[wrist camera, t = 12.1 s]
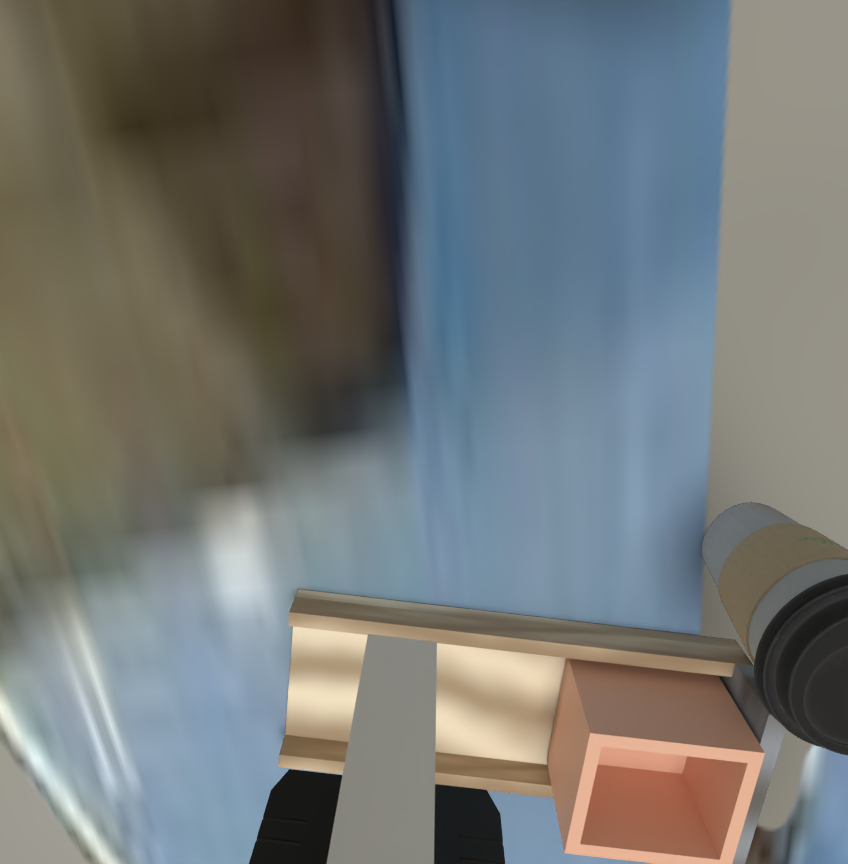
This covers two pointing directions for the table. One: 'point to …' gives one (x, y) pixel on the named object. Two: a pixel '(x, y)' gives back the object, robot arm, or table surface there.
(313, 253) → the table surface
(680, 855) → the box
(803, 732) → the coffee cup
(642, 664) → the bay
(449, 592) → the table surface
